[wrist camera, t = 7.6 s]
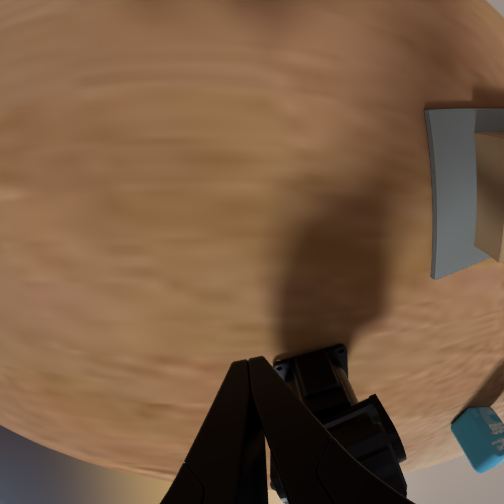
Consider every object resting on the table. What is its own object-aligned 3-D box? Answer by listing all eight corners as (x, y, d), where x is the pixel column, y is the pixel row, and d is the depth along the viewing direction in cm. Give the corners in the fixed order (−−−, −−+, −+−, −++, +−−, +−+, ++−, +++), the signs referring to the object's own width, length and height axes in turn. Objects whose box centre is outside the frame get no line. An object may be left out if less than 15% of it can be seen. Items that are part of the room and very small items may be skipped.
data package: (491, 405, 38) (519, 447, 27) (475, 422, 40) (502, 463, 29) (465, 407, 35) (497, 457, 24) (447, 425, 37) (476, 475, 26)
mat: (524, 237, 23) (528, 239, 23) (430, 277, 23) (434, 280, 23) (526, 109, 18) (530, 110, 17) (424, 109, 18) (428, 110, 17)
